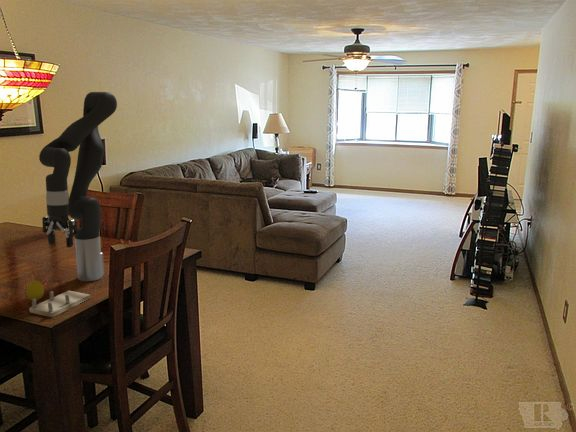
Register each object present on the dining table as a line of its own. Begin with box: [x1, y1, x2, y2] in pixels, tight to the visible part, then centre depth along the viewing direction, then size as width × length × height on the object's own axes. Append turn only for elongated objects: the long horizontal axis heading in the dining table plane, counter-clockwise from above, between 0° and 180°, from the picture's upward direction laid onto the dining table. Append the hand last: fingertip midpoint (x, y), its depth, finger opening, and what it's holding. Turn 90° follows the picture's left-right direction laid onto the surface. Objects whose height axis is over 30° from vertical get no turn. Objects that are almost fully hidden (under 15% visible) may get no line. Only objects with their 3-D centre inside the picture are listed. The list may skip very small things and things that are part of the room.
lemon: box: [25, 279, 45, 302], centre depth 168 cm, size 6×6×8 cm
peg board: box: [29, 290, 91, 318], centre depth 166 cm, size 17×10×4 cm, turn 159°
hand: (60, 245), depth 176 cm, fingers open, 8 cm apart
